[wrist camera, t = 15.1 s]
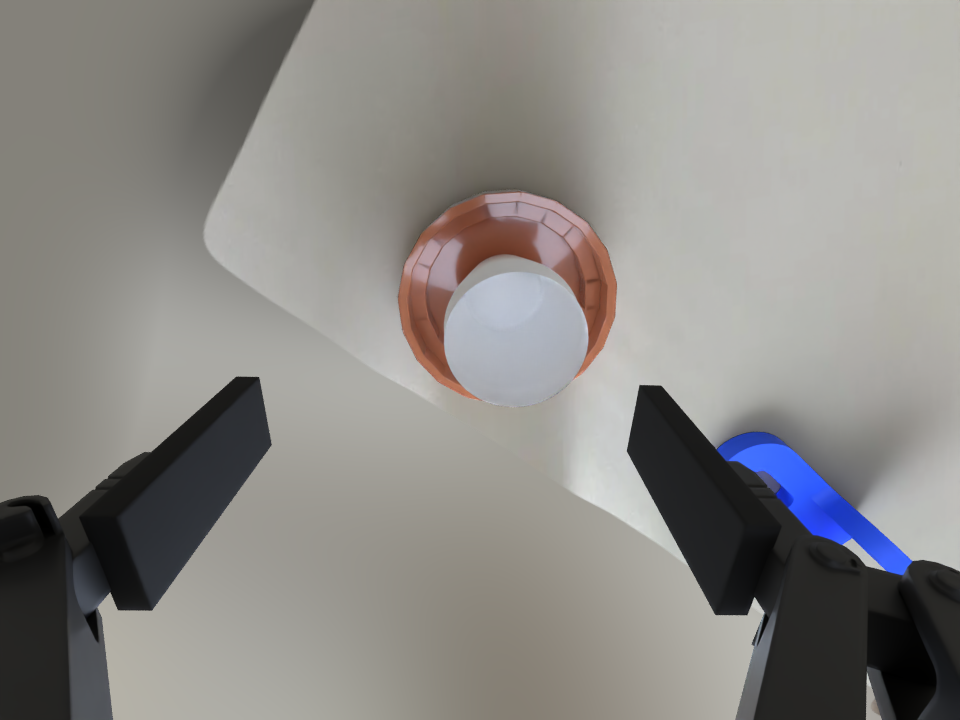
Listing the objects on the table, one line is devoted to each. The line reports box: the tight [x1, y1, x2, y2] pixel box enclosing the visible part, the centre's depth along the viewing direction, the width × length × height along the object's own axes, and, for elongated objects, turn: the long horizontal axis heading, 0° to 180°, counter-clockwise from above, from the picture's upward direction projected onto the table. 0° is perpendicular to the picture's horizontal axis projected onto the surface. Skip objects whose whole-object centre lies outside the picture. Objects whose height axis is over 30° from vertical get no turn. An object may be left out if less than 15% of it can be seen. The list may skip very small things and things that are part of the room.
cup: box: [444, 254, 588, 407], centre depth 32 cm, size 9×9×12 cm
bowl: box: [398, 189, 617, 401], centre depth 36 cm, size 16×16×5 cm
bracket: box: [717, 432, 913, 575], centre depth 43 cm, size 18×8×9 cm, turn 49°
